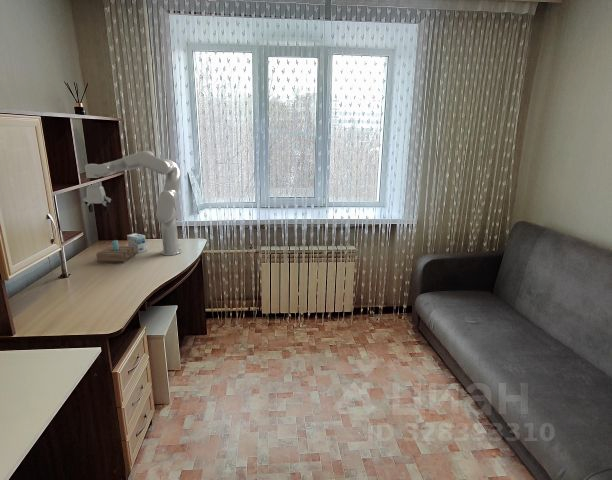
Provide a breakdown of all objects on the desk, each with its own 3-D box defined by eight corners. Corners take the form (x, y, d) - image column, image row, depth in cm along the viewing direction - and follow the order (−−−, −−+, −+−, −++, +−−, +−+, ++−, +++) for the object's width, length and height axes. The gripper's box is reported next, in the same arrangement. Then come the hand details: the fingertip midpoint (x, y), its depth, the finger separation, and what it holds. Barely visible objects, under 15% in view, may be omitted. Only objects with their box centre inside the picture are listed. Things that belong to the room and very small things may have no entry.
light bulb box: (147, 250, 264) (145, 235, 261) (138, 253, 259) (136, 237, 256) (137, 248, 270) (135, 232, 266) (128, 250, 264) (126, 235, 261)
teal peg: (113, 257, 246) (111, 241, 243) (116, 255, 249) (113, 240, 246) (118, 257, 246) (116, 241, 243) (120, 255, 249) (118, 240, 246)
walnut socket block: (111, 254, 256) (110, 245, 255) (135, 255, 255) (134, 246, 254) (97, 262, 241) (96, 253, 239) (123, 263, 240) (121, 254, 238)
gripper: (77, 185, 239) (81, 213, 244) (105, 185, 238) (109, 213, 242) (84, 183, 246) (89, 210, 251) (111, 183, 245) (115, 211, 250)
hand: (98, 212), depth 247 cm, fingers open, 9 cm apart
